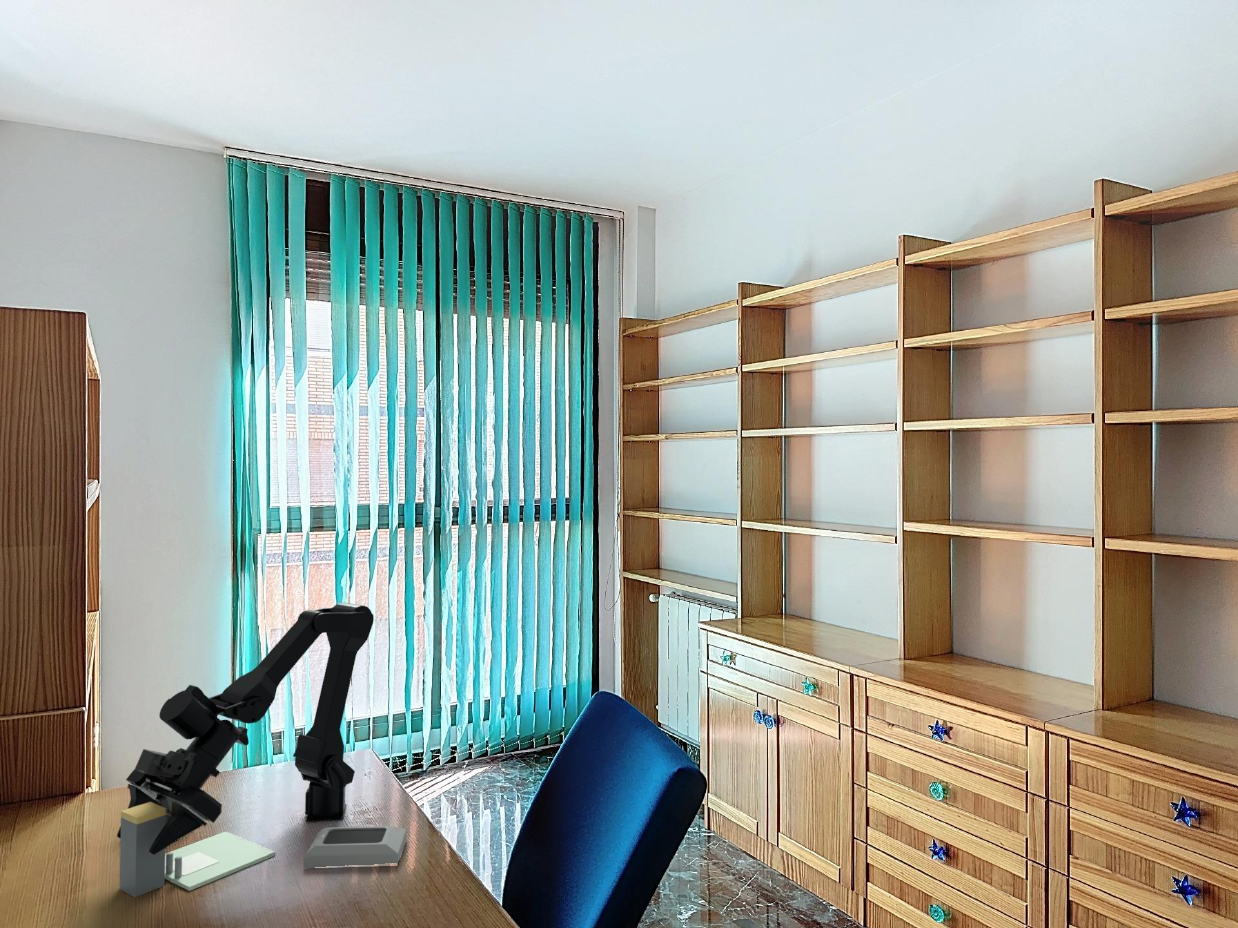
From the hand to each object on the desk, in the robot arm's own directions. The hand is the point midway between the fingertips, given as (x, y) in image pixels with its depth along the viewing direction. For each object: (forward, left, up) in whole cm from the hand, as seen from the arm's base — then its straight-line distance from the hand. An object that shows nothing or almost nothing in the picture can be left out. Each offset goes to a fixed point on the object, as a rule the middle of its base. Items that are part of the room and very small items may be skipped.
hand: (134, 845), depth 133 cm
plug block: (-1, -1, -7) cm, 7 cm away
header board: (-9, -9, -7) cm, 14 cm away
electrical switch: (+2, -25, -7) cm, 26 cm away
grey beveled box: (-32, -7, -7) cm, 34 cm away
